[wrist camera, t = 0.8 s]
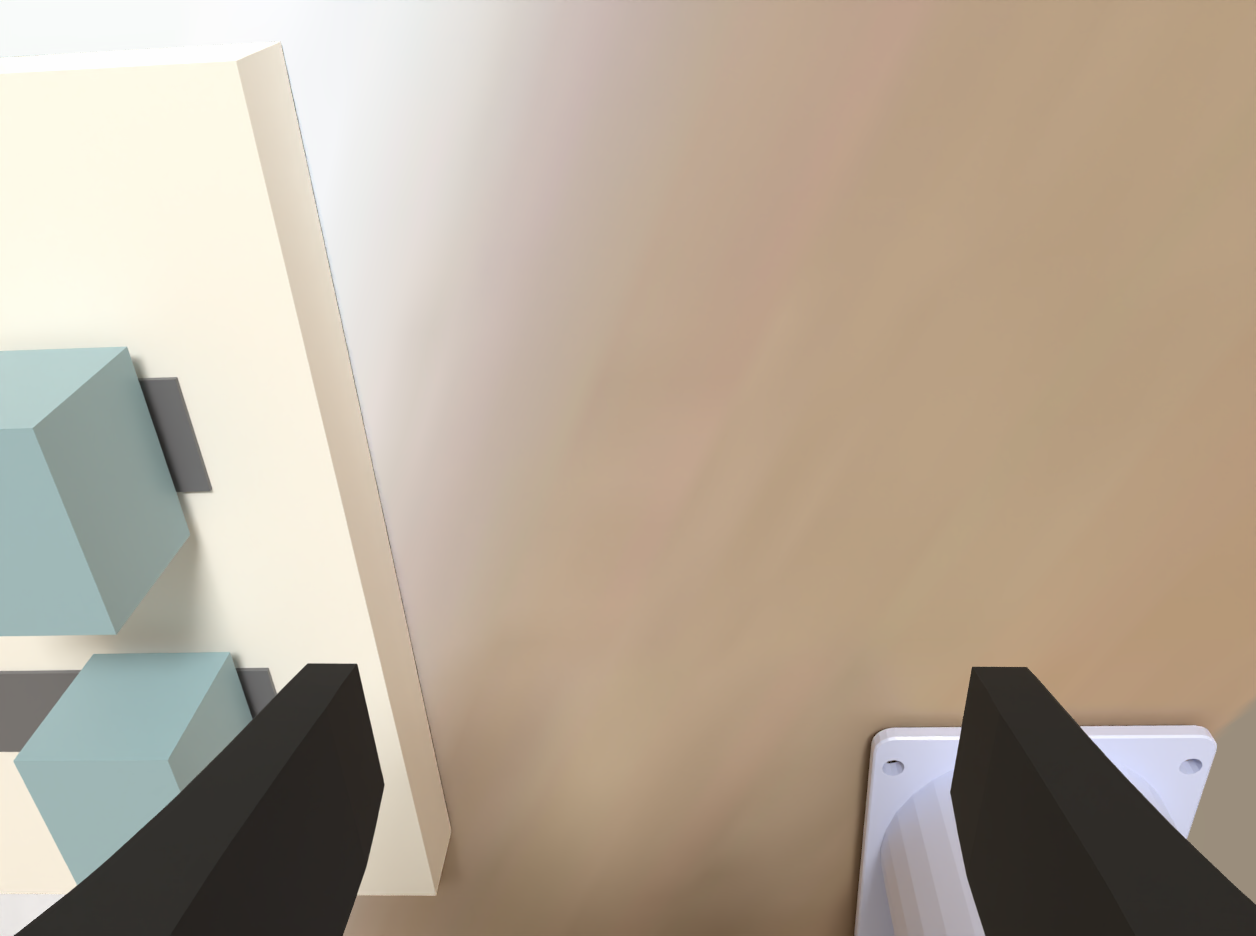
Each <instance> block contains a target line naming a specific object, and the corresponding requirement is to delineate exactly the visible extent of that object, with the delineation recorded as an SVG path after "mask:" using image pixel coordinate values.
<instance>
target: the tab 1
mask: <svg viewBox="0 0 1256 936" xmlns="http://www.w3.org/2000/svg"><path fill="white" fill-rule="evenodd" d="M189 536H190V532H189V529H188V526H187V523H186V520H185V517H184V514H183V511H182V508H181V505H180V502H179V499H178V496H177V493H176V490H175V487H174V484H173V481H172V478H171V476H170V473H169V470H168V467H167V464H166V461H165V458H164V455H163V452H162V449H161V446H160V443H159V440H158V437H157V434H156V431H155V428H154V425H153V422H152V419H151V416H150V413H149V410H148V407H147V404H146V401H145V398H144V395H143V392H142V389H141V386H140V383H139V381H138V378H137V375H136V372H135V369H134V366H133V363H132V360H131V357H130V354H129V351H128V348H127V347H100V348H72V349H44V350H15V351H0V636H60V635H117V633H118V632H119V631H120V629H121V628H122V627H123V625H124V624H125V623H126V621H127V620H128V619H129V617H130V616H131V614H132V613H133V612H134V610H135V609H136V608H137V606H138V605H139V604H140V602H141V601H142V600H143V598H144V597H145V595H146V594H147V593H148V591H149V590H150V589H151V587H152V586H153V585H154V583H155V582H156V581H157V579H158V578H159V577H160V575H161V574H162V572H163V571H164V570H165V568H166V567H167V566H168V564H169V563H170V562H171V560H172V559H173V558H174V556H175V555H176V553H177V552H178V551H179V549H180V548H181V547H182V545H183V544H184V543H185V541H186V540H187V539H188V537H189Z"/></svg>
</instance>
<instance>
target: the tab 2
mask: <svg viewBox="0 0 1256 936" xmlns="http://www.w3.org/2000/svg"><path fill="white" fill-rule="evenodd" d="M251 721H252V716H251V713H250V710H249V707H248V704H247V701H246V698H245V695H244V692H243V689H242V686H241V683H240V680H239V677H238V674H237V671H236V668H235V666H234V663H233V660H232V657H231V654H230V652H199V653H124V654H93V655H92V656H91V658H90V659H89V660H88V662H87V663H86V664H85V666H84V667H83V668H82V670H81V671H80V672H79V674H78V675H77V676H76V678H75V679H74V680H73V682H72V683H71V684H70V686H69V687H68V688H67V690H66V691H65V692H64V694H63V695H62V696H61V698H60V699H59V700H58V702H57V703H56V704H55V706H54V707H53V708H52V710H51V711H50V712H49V714H48V715H47V716H46V718H45V719H44V720H43V722H42V723H41V724H40V726H39V727H38V728H37V730H36V731H35V732H34V734H33V735H32V736H31V738H30V739H29V740H28V742H27V743H26V744H25V746H24V747H23V748H22V750H21V751H20V752H19V754H18V755H17V756H16V758H15V759H14V760H13V762H14V764H15V766H16V768H17V770H18V772H19V773H20V775H21V777H22V779H23V781H24V783H25V785H26V787H27V789H28V791H29V793H30V795H31V797H32V799H33V801H34V803H35V804H36V806H37V808H38V810H39V812H40V814H41V816H42V818H43V820H44V822H45V824H46V826H47V828H48V830H49V832H50V834H51V835H52V837H53V839H54V841H55V843H56V845H57V847H58V849H59V851H60V853H61V855H62V857H63V859H64V861H65V863H66V865H67V866H68V868H69V870H70V872H71V874H72V876H73V878H74V880H75V882H76V884H77V885H78V884H79V883H81V882H82V881H83V880H84V879H85V878H87V877H88V876H89V875H90V874H91V873H93V872H94V871H95V870H96V869H97V868H98V867H100V866H101V865H102V864H103V863H104V862H105V861H106V860H108V859H109V858H110V857H111V856H112V855H113V854H114V853H115V852H116V851H117V850H119V849H120V848H121V847H122V846H123V845H124V844H125V843H126V842H127V841H128V840H129V839H131V838H132V837H133V836H134V835H135V834H136V833H137V832H138V831H139V830H140V829H141V828H143V827H144V826H145V825H146V824H147V823H148V822H149V821H150V820H151V819H152V818H154V817H155V816H156V815H157V814H158V813H159V812H160V811H161V810H162V809H163V808H164V807H165V806H166V805H168V804H169V803H170V802H171V801H172V800H173V799H174V798H175V797H176V796H177V795H178V794H179V793H180V792H181V791H182V790H183V789H184V788H185V787H186V786H187V785H188V784H189V783H190V782H191V781H192V780H193V779H194V778H195V777H196V776H197V775H198V774H199V773H200V772H201V771H202V770H203V769H204V768H205V767H206V766H207V765H208V764H209V763H210V762H211V761H212V760H213V759H214V758H215V757H216V756H217V755H218V754H219V753H220V752H221V751H222V750H223V749H224V748H225V747H226V746H227V745H228V744H229V743H230V742H231V741H232V740H233V739H234V738H235V737H236V736H237V735H238V734H239V733H240V732H241V731H242V730H243V729H244V728H245V727H246V726H247V725H248V724H249V723H250V722H251Z"/></svg>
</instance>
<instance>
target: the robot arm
mask: <svg viewBox="0 0 1256 936" xmlns="http://www.w3.org/2000/svg"><path fill="white" fill-rule="evenodd" d="M1216 750H1217V744H1216V742H1215V740H1214V739H1213V737H1212V735H1211V734H1210V732H1209V731H1208V730H1207V729H1206V728H1204V727H1202V726H1195V725H1180V726H1079V725H1078V724H1077V723H1076V722H1075V720H1074V719H1073V718H1072V717H1071V716H1070V715H1069V714H1068V713H1067V711H1066V710H1065V709H1064V708H1063V707H1062V706H1061V705H1060V703H1059V702H1058V701H1057V700H1056V699H1055V698H1054V697H1053V696H1052V694H1051V693H1050V692H1049V691H1048V690H1047V689H1046V688H1045V686H1044V685H1043V684H1042V683H1041V682H1040V681H1039V680H1038V679H1037V677H1036V676H1035V675H1034V674H1033V673H1032V672H1031V671H1030V670H1029V669H1028V668H1027V667H972V671H971V677H970V682H969V688H968V694H967V699H966V705H965V711H964V716H963V722H962V727H914V728H888V729H884V730H882V731H880V732H878V733H877V734H876V735H875V736H874V737H873V740H872V743H871V754H870V765H869V777H868V788H867V799H866V810H865V821H864V832H863V843H862V854H861V865H860V876H859V887H858V898H857V910H856V921H855V932H854V936H1256V905H1255V904H1254V903H1253V902H1252V901H1251V900H1250V899H1249V898H1248V897H1247V896H1245V895H1244V894H1243V893H1242V892H1241V891H1240V890H1239V889H1238V888H1237V887H1236V886H1234V885H1233V884H1232V883H1231V882H1230V881H1229V880H1228V879H1227V878H1226V877H1225V876H1224V875H1223V874H1222V873H1221V872H1220V871H1219V870H1218V869H1217V868H1215V867H1214V866H1213V865H1212V864H1211V863H1210V862H1209V861H1208V860H1207V859H1206V858H1205V857H1204V856H1203V855H1202V854H1201V853H1200V852H1199V851H1198V850H1197V849H1196V848H1195V847H1194V846H1193V845H1192V844H1191V843H1190V842H1188V840H1187V837H1188V834H1189V831H1190V828H1191V825H1192V822H1193V819H1194V816H1195V813H1196V810H1197V807H1198V804H1199V801H1200V798H1201V795H1202V792H1203V789H1204V786H1205V783H1206V780H1207V777H1208V774H1209V771H1210V768H1211V765H1212V762H1213V759H1214V756H1215V753H1216ZM1188 759H1190V760H1188ZM892 760H896V761H897V762H894V763H886V762H888V761H892ZM1186 760H1188V761H1186ZM384 786H385V784H384V779H383V775H382V771H381V766H380V762H379V757H378V753H377V748H376V744H375V740H374V735H373V731H372V726H371V722H370V718H369V713H368V709H367V704H366V700H365V695H364V691H363V687H362V682H361V678H360V673H359V669H358V665H357V664H338V663H308V664H306V665H305V666H304V667H303V668H302V669H301V670H300V671H299V672H298V673H297V674H296V675H295V676H294V677H293V678H292V679H291V680H290V681H289V682H288V683H287V684H286V685H285V686H284V687H283V688H282V689H281V690H280V692H279V693H278V694H277V695H276V696H275V697H274V698H273V699H272V700H271V701H270V702H269V703H268V704H267V705H266V706H265V707H264V708H263V709H262V710H261V711H260V712H259V713H258V714H257V715H256V716H255V717H254V718H253V719H252V721H251V722H250V723H249V724H248V725H247V726H246V727H245V728H244V729H243V730H242V731H241V732H240V733H239V734H238V735H237V736H236V737H235V738H234V739H233V740H232V741H231V742H230V743H229V744H228V745H227V746H226V747H225V748H224V749H223V750H222V751H221V752H220V753H219V754H218V755H217V756H216V757H215V758H214V759H213V760H212V761H211V762H210V763H209V764H208V765H207V766H206V767H205V768H204V769H203V770H202V771H201V772H200V773H199V774H198V775H197V776H196V777H195V778H194V779H193V780H192V781H191V782H190V783H189V784H188V785H187V786H186V787H185V788H184V789H183V790H182V791H181V792H180V793H179V794H178V795H177V796H176V797H175V798H174V799H173V800H172V801H171V802H170V803H169V804H168V805H166V806H165V807H164V808H163V809H162V810H161V811H160V812H159V813H158V814H157V815H156V816H155V817H154V818H152V819H151V820H150V821H149V822H148V823H147V824H146V825H145V826H144V827H143V828H141V829H140V830H139V831H138V832H137V833H136V834H135V835H134V836H133V837H132V838H131V839H129V840H128V841H127V842H126V843H125V844H124V845H123V846H122V847H121V848H120V849H119V850H117V851H116V852H115V853H114V854H113V855H112V856H111V857H110V858H109V859H108V860H106V861H105V862H104V863H103V864H102V865H101V866H100V867H98V868H97V869H96V870H95V871H94V872H93V873H91V874H90V875H89V876H88V877H87V878H85V879H84V880H83V881H82V882H81V883H79V884H78V885H77V886H76V887H75V888H73V889H72V890H71V891H70V892H69V893H67V894H66V895H65V896H64V897H62V898H61V899H60V900H59V901H57V902H56V903H55V904H54V905H52V906H51V907H50V908H48V909H47V910H46V911H45V912H43V913H42V914H41V915H40V916H38V917H37V918H36V919H34V920H33V921H32V922H31V923H29V924H28V925H27V926H26V927H24V928H23V929H22V930H21V931H19V932H18V933H17V934H15V935H14V936H343V933H344V930H345V928H346V925H347V922H348V919H349V916H350V913H351V910H352V908H353V905H354V902H355V899H356V896H357V893H358V890H359V888H360V885H361V882H362V879H363V876H364V873H365V870H366V867H367V863H368V859H369V854H370V850H371V846H372V842H373V837H374V833H375V829H376V824H377V819H378V814H379V810H380V805H381V800H382V795H383V791H384Z"/></svg>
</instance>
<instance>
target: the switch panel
mask: <svg viewBox="0 0 1256 936" xmlns="http://www.w3.org/2000/svg"><path fill="white" fill-rule="evenodd" d="M100 347H127V348H128V351H129V354H130V357H131V360H132V363H133V366H134V369H135V372H136V375H137V378H138V381H139V383H140V386H141V389H142V392H143V395H144V398H145V401H146V404H147V407H148V410H149V413H150V416H151V419H152V422H153V425H154V428H155V431H156V434H157V437H158V440H159V443H160V446H161V449H162V452H163V455H164V458H165V461H166V464H167V467H168V470H169V473H170V476H171V478H172V481H173V484H174V487H175V490H176V493H177V496H178V499H179V502H180V505H181V508H182V511H183V514H184V517H185V520H186V523H187V526H188V529H189V532H190V536H189V537H188V539H187V540H186V541H185V543H184V544H183V545H182V547H181V548H180V549H179V551H178V552H177V553H176V555H175V556H174V558H173V559H172V560H171V562H170V563H169V564H168V566H167V567H166V568H165V570H164V571H163V572H162V574H161V575H160V577H159V578H158V579H157V581H156V582H155V583H154V585H153V586H152V587H151V589H150V590H149V591H148V593H147V594H146V595H145V597H144V598H143V600H142V601H141V602H140V604H139V605H138V606H137V608H136V609H135V610H134V612H133V613H132V614H131V616H130V617H129V619H128V620H127V621H126V623H125V624H124V625H123V627H122V628H121V629H120V631H119V632H118V633H117V635H60V636H0V894H67V893H69V892H70V891H71V890H72V889H73V888H75V887H76V886H77V884H76V882H75V880H74V878H73V876H72V874H71V872H70V870H69V868H68V866H67V865H66V863H65V861H64V859H63V857H62V855H61V853H60V851H59V849H58V847H57V845H56V843H55V841H54V839H53V837H52V835H51V834H50V832H49V830H48V828H47V826H46V824H45V822H44V820H43V818H42V816H41V814H40V812H39V810H38V808H37V806H36V804H35V803H34V801H33V799H32V797H31V795H30V793H29V791H28V789H27V787H26V785H25V783H24V781H23V779H22V777H21V775H20V773H19V772H18V770H17V768H16V766H15V764H14V762H13V760H14V759H15V758H16V756H17V755H18V754H19V752H20V751H21V750H22V748H23V747H24V746H25V744H26V743H27V742H28V740H29V739H30V738H31V736H32V735H33V734H34V732H35V731H36V730H37V728H38V727H39V726H40V724H41V723H42V722H43V720H44V719H45V718H46V716H47V715H48V714H49V712H50V711H51V710H52V708H53V707H54V706H55V704H56V703H57V702H58V700H59V699H60V698H61V696H62V695H63V694H64V692H65V691H66V690H67V688H68V687H69V686H70V684H71V683H72V682H73V680H74V679H75V678H76V676H77V675H78V674H79V672H80V671H81V670H82V668H83V667H84V666H85V664H86V663H87V662H88V660H89V659H90V658H91V656H92V655H93V654H124V653H199V652H230V654H231V657H232V660H233V663H234V666H235V668H236V671H237V674H238V677H239V680H240V683H241V686H242V689H243V692H244V695H245V698H246V701H247V704H248V707H249V710H250V713H251V716H252V719H253V718H254V717H255V716H256V715H257V714H258V713H259V712H260V711H261V710H262V709H263V708H264V707H265V706H266V705H267V704H268V703H269V702H270V701H271V700H272V699H273V698H274V697H275V696H276V695H277V694H278V693H279V692H280V690H281V689H282V688H283V687H284V686H285V685H286V684H287V683H288V682H289V681H290V680H291V679H292V678H293V677H294V676H295V675H296V674H297V673H298V672H299V671H300V670H301V669H302V668H303V667H304V666H305V665H306V664H308V663H338V664H357V665H358V669H359V673H360V678H361V682H362V687H363V691H364V695H365V700H366V704H367V709H368V713H369V718H370V722H371V726H372V731H373V735H374V740H375V744H376V748H377V753H378V757H379V762H380V766H381V771H382V775H383V779H384V784H385V786H384V791H383V795H382V800H381V805H380V810H379V814H378V819H377V824H376V829H375V833H374V837H373V842H372V846H371V850H370V854H369V859H368V863H367V867H366V870H365V873H364V876H363V879H362V882H361V885H360V888H359V890H358V893H357V895H415V896H436V894H437V890H438V886H439V882H440V878H441V873H442V869H443V865H444V861H445V857H446V853H447V848H448V844H449V840H450V836H451V832H452V831H451V826H450V822H449V817H448V812H447V808H446V803H445V798H444V794H443V789H442V785H441V780H440V775H439V771H438V766H437V762H436V757H435V752H434V748H433V743H432V738H431V734H430V729H429V725H428V720H427V715H426V711H425V706H424V702H423V697H422V692H421V688H420V683H419V678H418V674H417V669H416V665H415V660H414V655H413V651H412V646H411V642H410V637H409V632H408V628H407V623H406V618H405V614H404V609H403V605H402V600H401V595H400V591H399V586H398V582H397V577H396V572H395V568H394V563H393V558H392V554H391V549H390V545H389V540H388V535H387V531H386V526H385V522H384V517H383V512H382V508H381V503H380V498H379V494H378V489H377V485H376V480H375V475H374V471H373V466H372V462H371V457H370V452H369V448H368V443H367V438H366V434H365V429H364V425H363V420H362V415H361V411H360V406H359V402H358V397H357V392H356V388H355V383H354V378H353V374H352V369H351V365H350V360H349V355H348V351H347V346H346V342H345V337H344V332H343V328H342V323H341V318H340V314H339V309H338V305H337V300H336V295H335V291H334V286H333V282H332V277H331V272H330V268H329V263H328V259H327V254H326V249H325V245H324V240H323V235H322V231H321V226H320V222H319V217H318V212H317V208H316V203H315V199H314V194H313V189H312V185H311V180H310V175H309V171H308V166H307V162H306V157H305V152H304V148H303V143H302V139H301V134H300V129H299V125H298V120H297V115H296V111H295V106H294V102H293V97H292V92H291V88H290V83H289V79H288V74H287V69H286V65H285V60H284V55H283V51H282V46H281V42H265V43H247V44H229V45H212V46H194V47H176V48H159V49H141V50H123V51H106V52H88V53H71V54H53V55H35V56H18V57H0V351H15V350H44V349H72V348H100Z"/></svg>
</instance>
